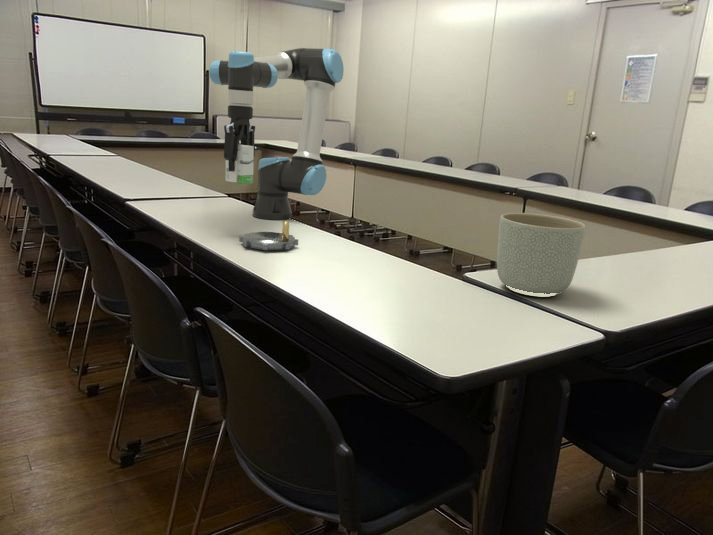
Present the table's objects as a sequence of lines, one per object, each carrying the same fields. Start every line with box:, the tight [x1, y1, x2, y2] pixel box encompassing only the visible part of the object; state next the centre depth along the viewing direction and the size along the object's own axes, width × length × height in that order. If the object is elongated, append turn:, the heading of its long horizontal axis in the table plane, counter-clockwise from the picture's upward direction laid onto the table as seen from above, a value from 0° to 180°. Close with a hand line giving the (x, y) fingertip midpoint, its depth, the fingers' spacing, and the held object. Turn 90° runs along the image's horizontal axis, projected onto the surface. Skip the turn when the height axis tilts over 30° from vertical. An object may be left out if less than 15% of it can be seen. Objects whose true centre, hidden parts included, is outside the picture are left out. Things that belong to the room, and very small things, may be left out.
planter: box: [496, 212, 587, 294], centre depth 148 cm, size 21×21×19 cm
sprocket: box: [238, 220, 299, 251], centre depth 177 cm, size 18×18×8 cm
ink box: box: [224, 143, 255, 185], centre depth 180 cm, size 9×5×12 cm, turn 50°
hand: (239, 180), depth 182 cm, fingers closed on ink box, 6 cm apart
